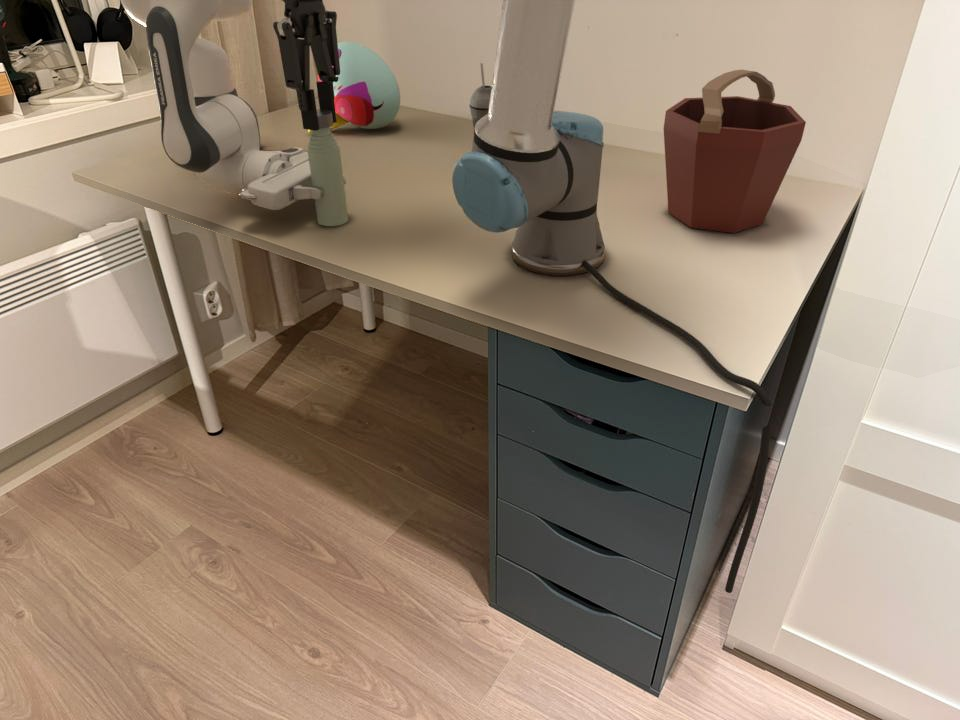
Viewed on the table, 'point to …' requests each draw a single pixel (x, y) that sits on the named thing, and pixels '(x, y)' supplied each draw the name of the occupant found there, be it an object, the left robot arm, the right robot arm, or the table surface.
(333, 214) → the bottle
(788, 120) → the bucket
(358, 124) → the toy
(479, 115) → the beverage cup
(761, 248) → the table surface
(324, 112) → the cap
